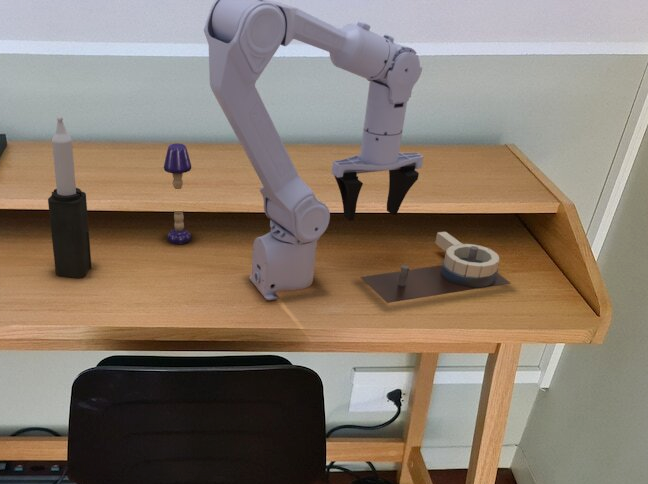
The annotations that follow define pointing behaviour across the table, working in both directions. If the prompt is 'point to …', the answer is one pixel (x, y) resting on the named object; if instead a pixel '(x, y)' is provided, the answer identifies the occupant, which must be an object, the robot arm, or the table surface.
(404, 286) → the rack
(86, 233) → the candle
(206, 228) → the table surface
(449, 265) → the ring
